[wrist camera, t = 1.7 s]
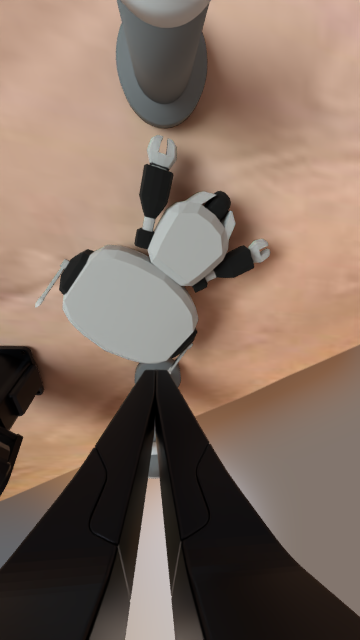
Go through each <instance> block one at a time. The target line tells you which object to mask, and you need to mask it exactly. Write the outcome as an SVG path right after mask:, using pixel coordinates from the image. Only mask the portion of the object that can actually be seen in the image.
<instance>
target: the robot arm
mask: <svg viewBox="0 0 360 640" xmlns="http://www.w3.org/2000/svg"><path fill="white" fill-rule="evenodd" d="M23 351H24V352H23ZM43 392H44V388H43V385H42V380H41V377H40V374H39V371H38V368H37V366H36V364H35V362H34V359H33V356H32V353H31V350H30V349H29V348H28V347H9V346H0V496H1V494H2V492H3V491H4V489H5V487H6V485H7V483H8V481H9V478H10V476H11V473H12V470H13V467H14V464H15V461H16V458H17V455H18V452H19V449H20V446H21V443H22V440H23V436H21V435H19V434H15V433H13V432H11V431H9V430H10V429H11V427H12V426H13V424H14V422H15V421H16V419H17V417H18V416H22V415H23V414H24V413H25V412H26V410H27V409H28V407H29V405H30V404H31V402H32V400H33V399H34V397H35V395H41V394H42V393H43ZM154 431H155V434H156V445H157V456H158V466H159V476H160V486H161V497H162V506H163V517H164V528H165V536H166V537H165V538H166V548H167V558H168V569H169V579H170V589H171V596H172V610H173V619H174V631H175V640H360V617H359V616H358V615H357V614H356V613H355V612H354V611H352V610H351V609H350V608H349V607H348V606H347V605H345V604H344V603H343V602H342V601H341V600H339V599H338V598H337V597H336V596H335V595H334V594H332V593H331V592H330V591H329V590H328V589H327V588H325V587H324V586H323V585H322V584H321V583H320V582H319V581H317V580H316V579H315V578H314V577H313V576H312V575H310V574H309V573H308V572H307V571H306V570H305V569H303V568H302V567H301V566H300V565H299V564H298V563H297V562H296V561H295V560H294V559H293V558H292V557H291V556H290V554H289V553H288V552H287V551H286V550H285V549H284V548H283V547H282V545H281V544H280V543H279V541H278V540H277V539H276V538H275V536H274V535H273V534H272V532H271V531H270V530H269V528H268V527H267V526H266V524H265V523H264V522H263V520H262V519H261V517H260V516H259V515H258V513H257V512H256V511H255V509H254V508H253V507H252V505H251V504H250V503H249V501H248V500H247V498H246V497H245V496H244V494H243V493H242V492H241V490H240V489H239V487H238V486H237V485H236V483H235V482H234V481H233V479H232V477H231V476H230V475H229V473H228V472H227V470H226V469H225V467H224V466H223V464H222V462H221V461H220V459H219V457H218V456H217V454H216V453H215V451H214V449H213V447H212V446H211V444H209V441H208V439H207V437H206V436H205V434H204V432H203V430H202V429H201V427H200V425H199V423H198V422H197V420H196V418H195V416H194V415H193V413H192V411H191V410H190V408H189V406H188V404H187V403H186V401H185V399H184V398H183V396H182V394H181V392H180V391H179V389H178V387H177V386H176V384H175V382H174V380H173V379H172V377H171V375H170V373H169V372H168V370H166V369H157V370H155V369H146V370H144V372H143V373H142V375H141V376H140V378H139V379H138V381H137V382H136V384H135V385H134V387H133V388H132V390H131V391H130V393H129V395H128V396H127V398H126V399H125V401H124V402H123V404H122V405H121V407H120V408H119V410H118V411H117V413H116V414H115V416H114V417H113V419H112V420H111V422H110V424H109V425H108V427H107V428H106V430H105V431H104V433H103V434H102V436H101V437H100V439H99V440H98V442H97V443H96V445H95V448H93V449H92V451H91V452H90V454H89V455H88V457H87V459H86V460H85V461H84V463H83V464H82V466H81V467H80V469H79V470H78V472H77V473H76V474H75V476H74V477H73V479H72V480H71V481H70V483H69V484H68V485H67V486H66V488H65V489H64V490H63V492H62V493H61V495H60V496H59V497H58V498H57V500H56V501H55V502H54V503H53V505H52V506H51V507H50V508H49V509H48V511H47V512H46V513H45V514H44V516H43V517H42V518H41V520H40V521H39V522H38V523H37V524H36V526H35V527H34V529H33V530H32V531H31V532H30V533H29V534H28V536H27V537H26V538H25V539H24V541H23V542H22V543H21V545H20V546H19V547H18V548H17V549H16V551H15V552H14V553H13V554H12V556H11V557H10V558H9V559H8V560H7V562H6V563H5V564H4V565H3V566H2V567H1V569H0V640H125V635H126V628H127V621H128V614H129V607H130V599H131V593H132V586H133V578H134V572H135V565H136V558H137V550H138V544H139V537H140V530H141V523H142V516H143V509H144V502H145V494H146V488H147V481H148V474H149V467H150V460H151V453H152V446H153V439H154Z"/></svg>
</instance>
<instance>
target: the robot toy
mask: <svg viewBox="0 0 360 640" xmlns="http://www.w3.org/2000/svg"><path fill="white" fill-rule="evenodd" d="M162 139H163V136H160V135H156V136H154V137H152V138H151V140H150V143H149V146H148V148H147V152H148V157H149V162H150V165H148V164H146V165H144V170H143V176H142V182H141V188H140V194H139V196H140V200H141V204H142V209H143V212H144V216H145V217H144V222H143V228H139V229H137V232H136V238H135V246H137V247H140V248H144V249H148V253H149V257H148V256H146V255H145V254H143V253H141V252H138V251H136V250H133V249H131V248H128V247H125V246H119V245H106V246H104V247H102V248H100V249H98V250H96V251H92V250H89V249H87V250H85V251H83V252H81V253H80V254H78V255H77V256H75V257H74V258H72V259H71V260H70V261H69V260H67V259H65V260H64V261H63V262H62V264H61V265H60V267H61V268H60V270H59V271H58V273H57V274H56V276H55V277H54V279H53V280H52V281H51V283H50V284H49V286H48V287H47V289H46V290H45V292H44V293H43V295H42V296H41V297H40V298H39V299H38V301H37V302H36V306H35V308H36V307H38V306H39V305H41V303H42V302H43V301H44V298H45V296H46V295H47V294H48V292H49V291H50V289H51V288H52V286H53V285H54V283H55V282H56V280H57V279H58V277H59V276H60V275H61V279H60V287H59V290H60V291H61V292H62V294H63V295H64V297H63V311H64V312H65V314H66V316H67V318H68V320H69V321H70V322H71V323H72V325H73V326H74V327H75V328H76V329H78V330H79V331H80V332H81V333H82V334H83V335H84V336H85V337H87V338H88V339H90V340H91V341H92V342H94V343H95V344H96V345H98V346H99V347H100V348H102V349H103V350H105V351H107V352H110V353H112V354H115V355H117V356H120V357H123V358H125V359H128V360H132V361H135V362H139V363H145V364H154V363H160V362H164V361H166V360H167V359H168V358H174V357H176V356H177V355H179V354H180V355H179V356H178V358H177V359H176V360H175V362H174V363H173V364H172V366H171V367H170V368H169V370H168V372H169V373H170V374H171V371H172V370H173V369H174V367H175V366H176V364H177V363H178V362H179V360H180V359H181V358H182V356H183V355H184V354H185V352H186V351H187V349H190V348H191V347H192V345H193V343H192V342H193V341H194V338H195V336H196V334H197V330H196V324H197V322H198V315H197V311H196V307H195V305H194V303H193V300H192V298H191V296H190V294H189V293H188V291H187V290H186V289H185V287H184V286H192V287H193V289H194V291H195V293H196V292H198V291H200V290H202V289H204V288H206V287H207V285H208V283H207V282H208V281H210V280H212V279H214V278H216V277H218V278H234V277H236V276H238V275H241V274H243V273H245V272H247V271H249V270H251V269H253V268H254V263H261V262H263V261H264V260H265V259H267V258H268V257H269V255H270V250H269V249H267V248H266V249H265V250H263V251H261V252H259V250H260V249H262V248H264V247H266V246H268V242H267V241H266V240H264V239H258V240H254V241H253V242H252V243H251V245H250V246H249V247H248V248H246V247H245V246H244V245H243V246H240V247H238V248H236V249H234V250H232V251H230V252H228V253H227V250H228V242H229V238H230V236H231V233H232V231H233V229H234V226H235V220H234V217H233V213H232V211H228V210H229V208H230V205H231V201H230V198H229V197H228V195H227V194H226V193H224V192H222V191H217V192H216V193H214V194H212V193H208V192H205V191H203V192H198V193H196V194H194V195H193V196H191V197H190V198H188V199H187V200H185V201H183V202H176V203H174V204H173V205H171V206H170V207H168V208H167V209H166V210H165V212H164V213H163V215H162V217H161V219H160V220H159V222H158V224H157V226H156V228H155V230H154V231H153V228H154V223H155V219H156V218H157V216H158V215H159V214H160V213H161V211H162V210H163V209H164V207H165V206H166V204H167V203H168V198H169V193H170V189H171V184H172V179H173V173H172V172H169V170H170V168H171V167H172V166H173V164H174V163H175V161H176V160H177V147H176V145H175V143H174V142H173V140H171V139H168V140H167V151H166V155H165V154H162V153H160V152H159V147H160V143H161V141H162ZM206 201H207V202H206ZM204 202H206V203H205V205H204V206H203V205H201V204H203V203H204ZM63 270H64V271H63ZM62 272H63V273H62ZM61 273H62V274H61Z"/></svg>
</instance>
